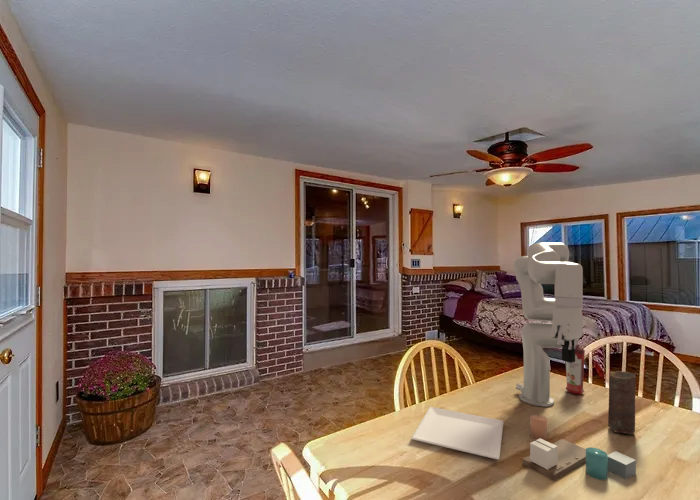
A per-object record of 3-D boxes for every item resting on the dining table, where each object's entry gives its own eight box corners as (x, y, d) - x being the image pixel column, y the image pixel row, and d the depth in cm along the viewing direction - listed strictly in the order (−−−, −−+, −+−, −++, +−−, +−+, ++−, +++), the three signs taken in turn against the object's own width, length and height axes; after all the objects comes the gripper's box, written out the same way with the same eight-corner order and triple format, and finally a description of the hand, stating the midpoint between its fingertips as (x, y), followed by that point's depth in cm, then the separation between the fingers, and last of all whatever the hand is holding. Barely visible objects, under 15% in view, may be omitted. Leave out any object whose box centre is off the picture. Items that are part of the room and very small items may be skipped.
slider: (530, 460, 102) (530, 442, 102) (540, 455, 105) (540, 437, 105) (547, 469, 98) (547, 451, 98) (557, 464, 101) (557, 445, 101)
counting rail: (522, 463, 104) (522, 457, 104) (562, 443, 115) (562, 438, 115) (553, 480, 96) (553, 474, 96) (593, 457, 107) (593, 451, 107)
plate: (503, 425, 127) (503, 420, 127) (499, 465, 104) (499, 458, 104) (429, 411, 139) (429, 406, 139) (410, 444, 115) (410, 437, 115)
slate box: (605, 469, 101) (605, 455, 101) (615, 465, 104) (615, 451, 104) (626, 479, 97) (626, 464, 97) (635, 474, 99) (635, 460, 99)
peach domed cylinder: (527, 435, 120) (527, 417, 120) (536, 431, 123) (536, 413, 123) (541, 441, 116) (541, 423, 116) (550, 437, 119) (550, 419, 119)
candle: (640, 438, 118) (640, 377, 118) (615, 436, 119) (615, 376, 120) (627, 427, 125) (627, 370, 126) (603, 425, 127) (603, 368, 127)
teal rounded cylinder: (582, 472, 100) (582, 450, 100) (591, 466, 103) (591, 445, 103) (602, 482, 96) (602, 459, 96) (611, 476, 98) (611, 454, 98)
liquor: (562, 392, 156) (562, 328, 156) (568, 388, 161) (567, 325, 161) (582, 397, 151) (581, 330, 151) (587, 392, 156) (586, 328, 156)
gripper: (568, 299, 120) (568, 354, 119) (542, 302, 112) (543, 362, 112) (593, 302, 113) (593, 360, 113) (568, 306, 105) (568, 368, 105)
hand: (568, 361), depth 112 cm, fingers closed
